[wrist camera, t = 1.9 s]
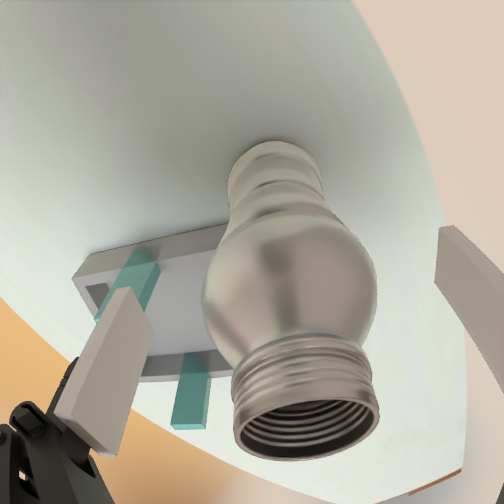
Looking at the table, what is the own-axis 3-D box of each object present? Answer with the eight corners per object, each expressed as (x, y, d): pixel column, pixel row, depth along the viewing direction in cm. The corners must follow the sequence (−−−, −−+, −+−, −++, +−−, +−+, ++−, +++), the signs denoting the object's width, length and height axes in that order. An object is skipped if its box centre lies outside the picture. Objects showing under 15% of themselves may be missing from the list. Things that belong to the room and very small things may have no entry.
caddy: (89, 254, 28) (39, 324, 19) (231, 222, 26) (219, 301, 17) (146, 356, 34) (124, 428, 26) (265, 342, 33) (267, 424, 24)
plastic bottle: (332, 170, 24) (475, 392, 6) (277, 232, 26) (305, 486, 9) (265, 117, 22) (310, 281, 4) (212, 187, 24) (132, 438, 7)
